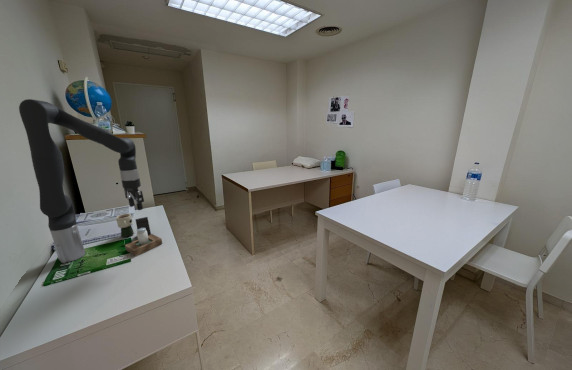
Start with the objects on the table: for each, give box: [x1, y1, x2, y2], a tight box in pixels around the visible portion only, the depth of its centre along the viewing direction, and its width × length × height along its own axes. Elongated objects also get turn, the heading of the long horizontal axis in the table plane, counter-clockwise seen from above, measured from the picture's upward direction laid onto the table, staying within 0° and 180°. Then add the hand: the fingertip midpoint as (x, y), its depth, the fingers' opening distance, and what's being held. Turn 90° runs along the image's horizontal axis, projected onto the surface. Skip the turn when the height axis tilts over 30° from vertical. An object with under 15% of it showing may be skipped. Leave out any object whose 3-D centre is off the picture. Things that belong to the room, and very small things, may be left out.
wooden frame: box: [124, 233, 163, 257], centre depth 116 cm, size 14×10×3 cm
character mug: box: [115, 213, 135, 238], centre depth 127 cm, size 11×7×13 cm, turn 38°
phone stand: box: [135, 216, 152, 235], centre depth 126 cm, size 9×6×12 cm, turn 37°
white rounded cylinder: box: [136, 228, 149, 246], centre depth 115 cm, size 5×5×8 cm
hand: (136, 207), depth 111 cm, fingers open, 8 cm apart
